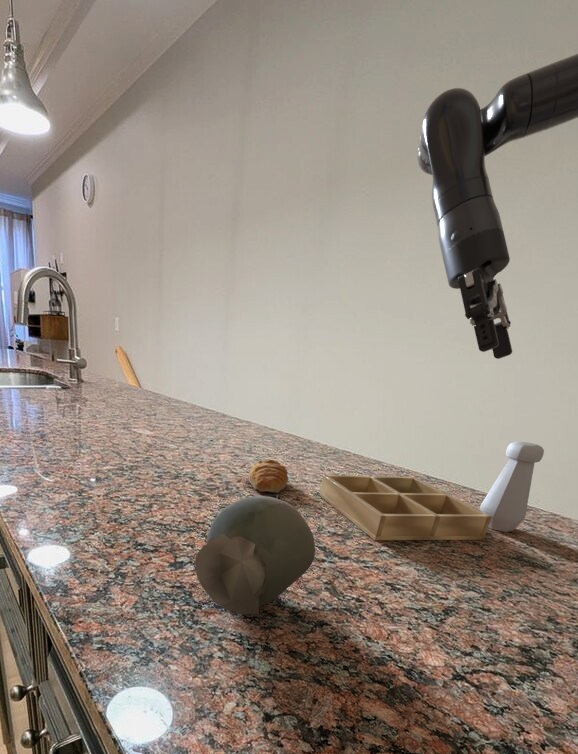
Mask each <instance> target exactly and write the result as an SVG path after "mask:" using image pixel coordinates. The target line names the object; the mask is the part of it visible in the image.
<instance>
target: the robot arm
mask: <svg viewBox="0 0 578 754" xmlns="http://www.w3.org/2000/svg"><path fill="white" fill-rule="evenodd" d="M576 119H578V53H576V54H574V55H571V56H568V57H565V58H563V59H560V60H557V61H555V62H551V63H550V64H547V65H544V66H542V67H539V68H536V69H534V70H531V71H529V72H526V73H523V74H521V75H518V76H517V77H514V78H512V79H510V80H508V81H506V82H505V83H504V84H503V85H502V86H501V87H500V88H499V90H498V91H497V93H496V94H495V96H494V97H493V99H492V100H490V102H489V103H488V104H487V105H486V106H484V107H483V108H481V106H480V104H479V101H478V99H477V98H476V96H475V95H474V94H473V92H471V91H469V90H468V89H466V88H461V87H455V88H449V89H447V90H445V91H443V92H442V93H441V94H439V95H438V96H437V97H436V98H434V100H433V101H432V102H431V103H430V105H429V106H428V107H427V110H426V111H425V113H424V115H423V118H422V122H421V127H420V135H419V142H418V149H417V164H418V166H419V169H420V170H421V171H422V172H423V173H425V174H426V175H429V176H432V187H431V188H432V189H431V201H432V206H433V213H434V218H435V222H436V227H437V230H438V243H439V248H440V252H441V256H442V261H443V265H444V268H445V275H446V278H447V283H448V286H449V287H450V288H451V289H453V290H455V289H456V290H458V289H459V291H460V294H461V299H462V303H463V309H464V316H465V318H466V319H467V320H469V324H470V325H471V326H472V327H473V329H474V334H475V338H476V342H477V346H478V347H477V348H478V350H479V351H480V352H482V353H485V352H488V351H490V350H492V354H493V358H494V359H497V360H499V359H503V358H506V357H509V356H510V355H512V354H513V348H512V344H511V339H510V335H509V331H508V330H509V328H510V327H511V324H512V323H511V320H510V317H509V315H508V308H507V304H506V302H505V298H504V289H503V287H502V284H501V283H498V281H497V279H494V278H495V276H496V275H497V274H499V273H501V272H502V271H503V270H505V269H506V267H508V265H509V263H510V259H511V257H510V253H509V249H508V246H507V245H508V244H507V240H506V236H505V233H504V228H503V223H502V218H501V216H500V212H499V210H498V208H497V205H496V203H495V200H494V195H493V191H492V187H491V182H490V179H489V174H488V173H487V169H486V160H485V157H487V156H488V155H490V154H492V153H494V152H495V151H497V150H498V149H500V148H501V147H503V146H505V145H507V144H509V143H511V142H515V141H518V140H522V139H525V138H528V137H530V136H533V135H536V134H540V133H542V132H545V131H548V130H550V129H552V128H554V129H555V128H556V127H559V126H561V125H563V124H566V123H569V122H571V121H573V120H576ZM497 319H500V321H499V322H495V320H497Z"/></svg>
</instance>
